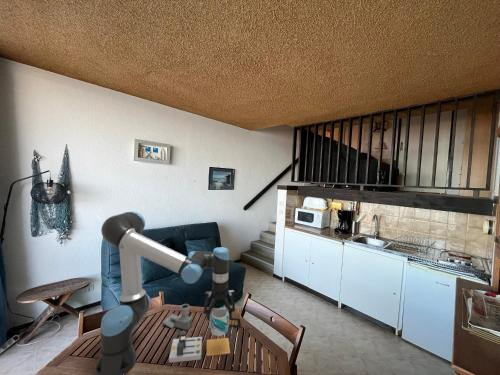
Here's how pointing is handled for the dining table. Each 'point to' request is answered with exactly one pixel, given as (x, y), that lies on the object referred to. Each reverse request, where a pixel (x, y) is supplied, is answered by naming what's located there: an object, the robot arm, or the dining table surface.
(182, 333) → the breaker
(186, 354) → the breaker panel
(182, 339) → the breaker
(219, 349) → the pad
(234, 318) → the ammunition clip
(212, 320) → the mug
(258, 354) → the dining table surface
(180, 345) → the block
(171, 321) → the camera
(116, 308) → the robot arm
